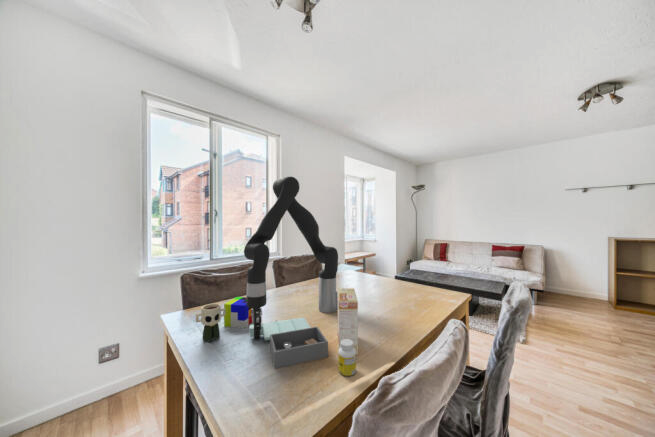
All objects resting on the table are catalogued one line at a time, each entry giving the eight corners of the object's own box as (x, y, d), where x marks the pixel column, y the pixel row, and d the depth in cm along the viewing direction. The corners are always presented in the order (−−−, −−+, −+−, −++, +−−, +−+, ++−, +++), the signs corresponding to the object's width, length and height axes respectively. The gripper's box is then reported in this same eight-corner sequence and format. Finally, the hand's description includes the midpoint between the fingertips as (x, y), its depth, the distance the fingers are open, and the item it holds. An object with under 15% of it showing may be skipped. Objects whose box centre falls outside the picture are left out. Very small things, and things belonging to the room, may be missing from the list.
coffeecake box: (337, 335, 97) (337, 287, 97) (354, 335, 97) (354, 287, 97) (337, 356, 82) (337, 300, 82) (358, 356, 82) (358, 300, 82)
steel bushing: (290, 349, 85) (290, 341, 85) (292, 353, 82) (292, 345, 82) (282, 351, 84) (282, 342, 84) (283, 355, 81) (283, 347, 81)
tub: (317, 342, 91) (317, 326, 91) (327, 359, 80) (327, 341, 80) (269, 351, 85) (269, 334, 85) (274, 371, 74) (274, 352, 74)
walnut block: (312, 348, 86) (312, 338, 86) (318, 352, 83) (317, 342, 83) (304, 351, 84) (304, 341, 84) (309, 355, 81) (309, 345, 81)
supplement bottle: (337, 368, 75) (337, 338, 75) (354, 367, 76) (354, 337, 76) (339, 380, 70) (339, 347, 70) (357, 379, 70) (357, 346, 70)
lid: (304, 319, 106) (304, 312, 106) (312, 332, 94) (312, 324, 94) (249, 327, 98) (249, 320, 98) (250, 342, 86) (250, 334, 86)
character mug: (197, 347, 88) (197, 312, 88) (194, 339, 93) (194, 306, 93) (227, 338, 94) (227, 306, 94) (223, 331, 100) (223, 301, 100)
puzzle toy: (244, 328, 103) (244, 305, 103) (224, 326, 105) (224, 304, 105) (255, 318, 113) (255, 298, 113) (237, 317, 115) (237, 296, 115)
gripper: (268, 297, 88) (268, 343, 88) (264, 287, 101) (264, 327, 101) (247, 300, 85) (247, 347, 85) (246, 289, 98) (246, 330, 98)
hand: (256, 336), depth 93 cm, fingers closed on lid, 3 cm apart
